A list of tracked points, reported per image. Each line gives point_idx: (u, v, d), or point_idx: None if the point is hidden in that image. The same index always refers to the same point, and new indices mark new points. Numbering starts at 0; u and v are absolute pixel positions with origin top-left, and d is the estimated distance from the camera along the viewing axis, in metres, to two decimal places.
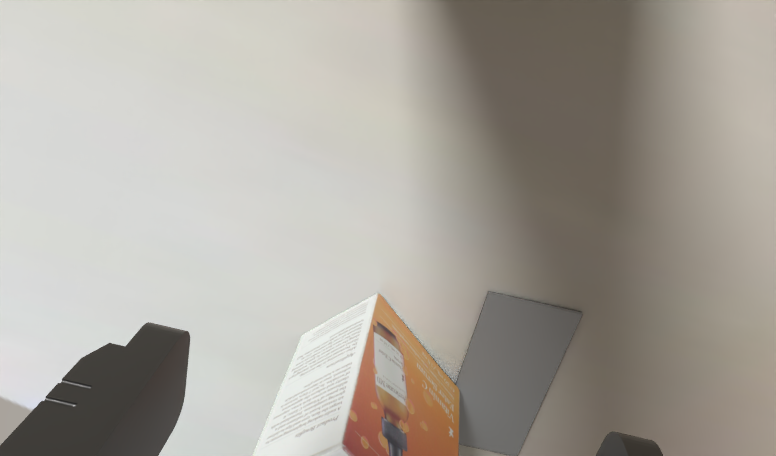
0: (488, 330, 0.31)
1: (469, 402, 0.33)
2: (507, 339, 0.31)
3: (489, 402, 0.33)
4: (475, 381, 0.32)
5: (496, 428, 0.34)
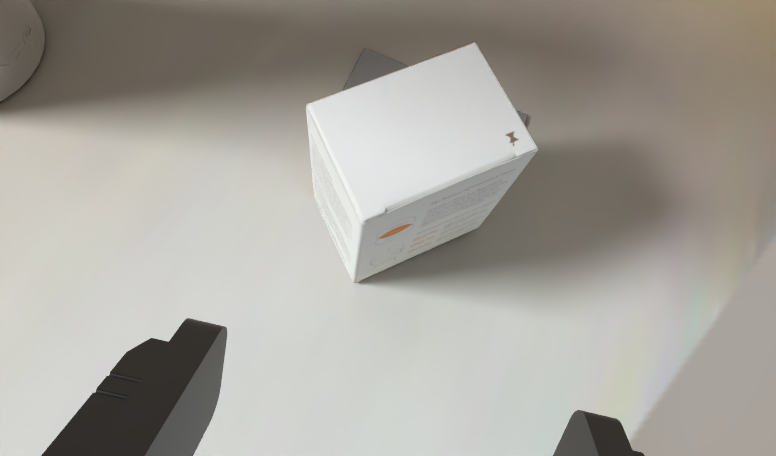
0: None
1: None
2: None
3: None
4: None
5: None
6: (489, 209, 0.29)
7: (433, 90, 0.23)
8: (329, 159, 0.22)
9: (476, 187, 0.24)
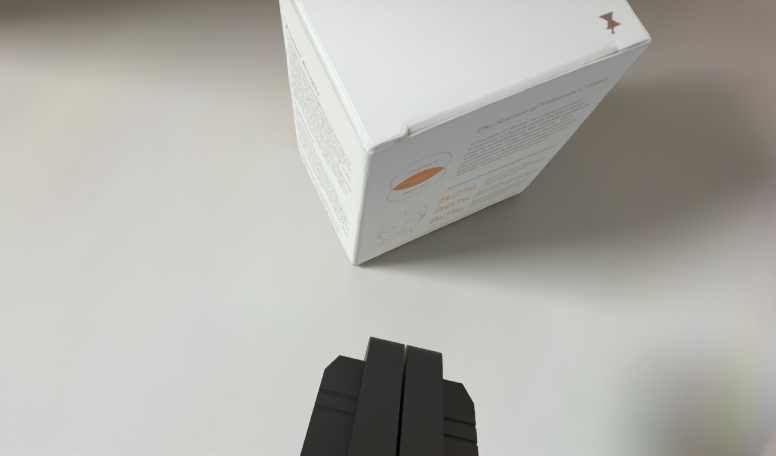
0: None
1: None
2: None
3: None
4: None
5: None
6: (547, 158, 0.20)
7: None
8: (313, 51, 0.13)
9: (547, 107, 0.15)
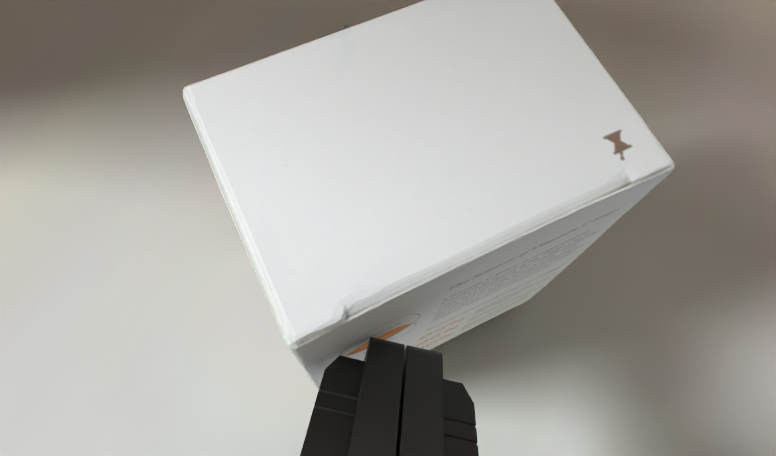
0: None
1: None
2: None
3: None
4: None
5: None
6: (552, 276, 0.17)
7: (446, 53, 0.11)
8: (226, 201, 0.10)
9: (541, 248, 0.12)
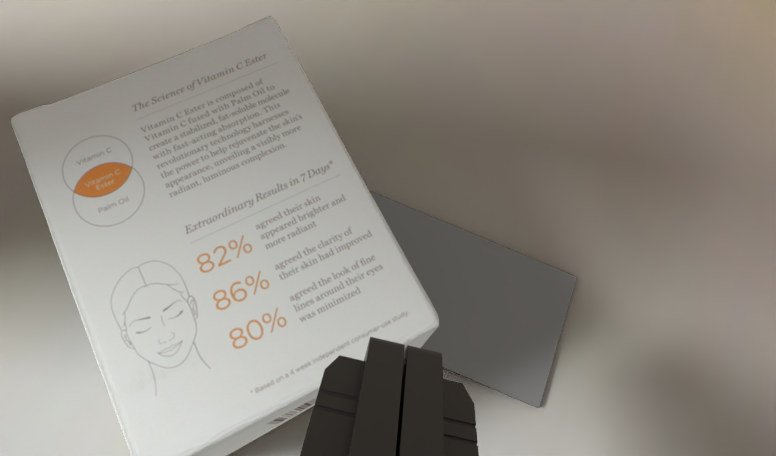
0: None
1: (455, 338, 0.20)
2: None
3: (457, 306, 0.20)
4: None
5: (513, 301, 0.21)
6: (358, 203, 0.15)
7: None
8: None
9: (213, 87, 0.16)
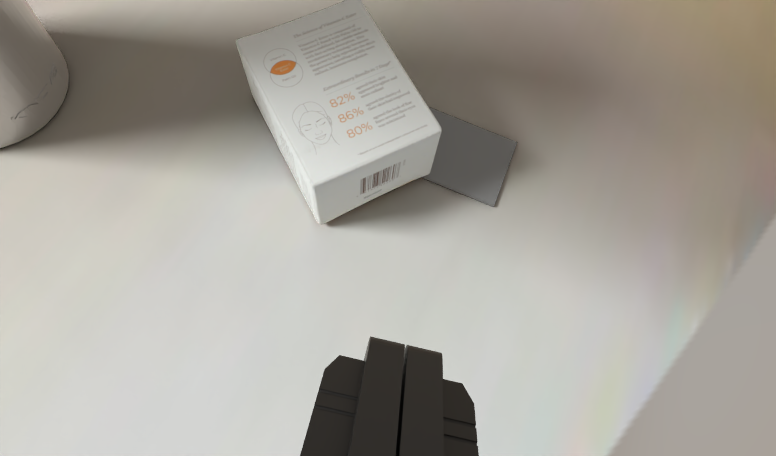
0: None
1: (449, 171, 0.37)
2: None
3: (450, 155, 0.37)
4: None
5: (481, 153, 0.37)
6: (403, 79, 0.32)
7: None
8: (246, 75, 0.35)
9: (331, 27, 0.33)
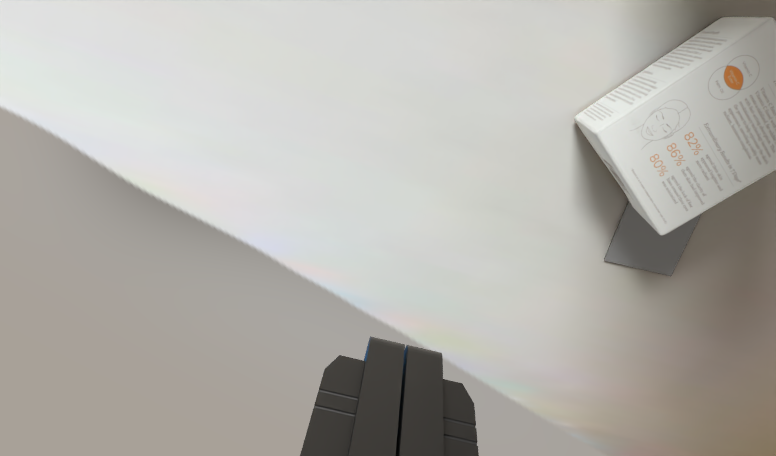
0: None
1: (637, 221, 0.40)
2: None
3: None
4: None
5: (657, 246, 0.41)
6: (718, 197, 0.33)
7: None
8: (739, 18, 0.32)
9: None
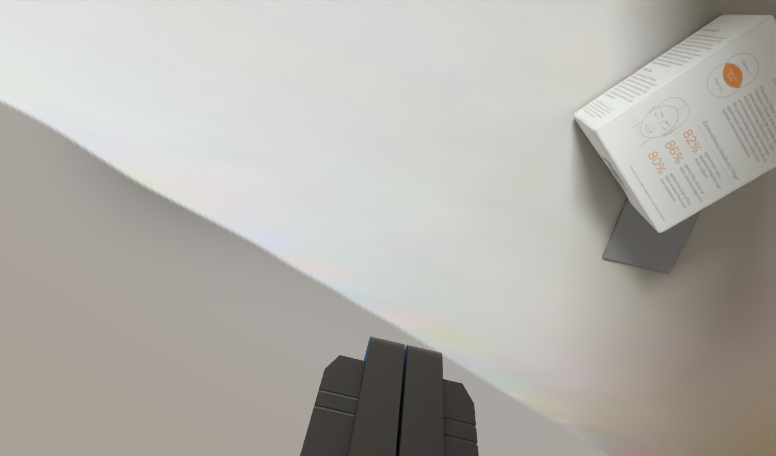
0: None
1: (636, 218, 0.40)
2: None
3: None
4: None
5: (655, 244, 0.41)
6: (716, 194, 0.33)
7: None
8: (738, 16, 0.32)
9: None
